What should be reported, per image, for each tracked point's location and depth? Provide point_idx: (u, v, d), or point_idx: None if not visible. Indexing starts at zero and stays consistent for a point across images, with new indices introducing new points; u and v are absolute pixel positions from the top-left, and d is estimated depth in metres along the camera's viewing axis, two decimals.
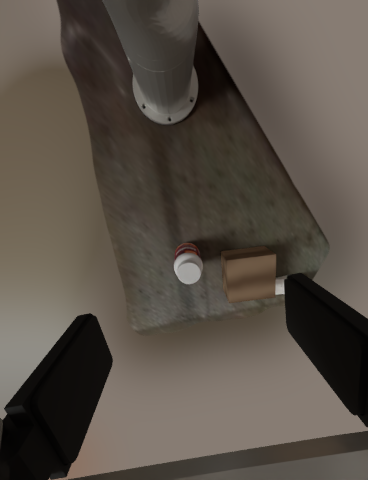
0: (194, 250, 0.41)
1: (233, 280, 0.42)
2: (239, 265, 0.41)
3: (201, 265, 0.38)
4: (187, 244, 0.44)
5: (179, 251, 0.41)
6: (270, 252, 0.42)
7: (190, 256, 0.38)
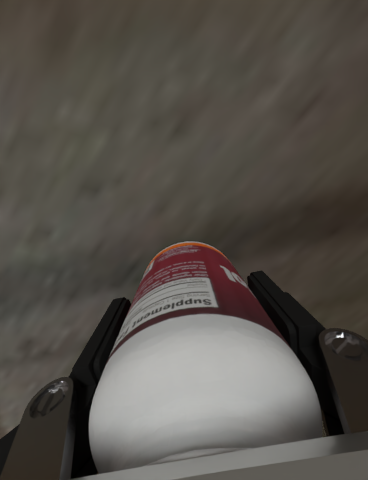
0: None
1: None
2: None
3: None
4: None
5: (252, 294, 0.07)
6: None
7: None
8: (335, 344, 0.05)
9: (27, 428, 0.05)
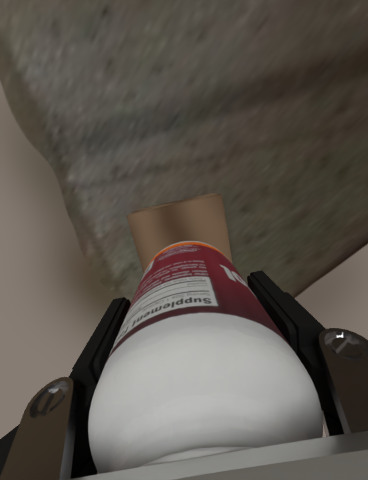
0: None
1: (179, 214, 0.21)
2: (212, 222, 0.21)
3: None
4: None
5: (252, 293, 0.07)
6: None
7: None
8: (335, 344, 0.05)
9: (27, 428, 0.05)
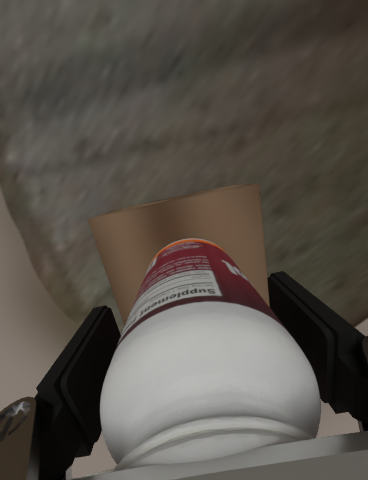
0: None
1: (182, 218, 0.12)
2: (239, 233, 0.12)
3: None
4: None
5: (253, 287, 0.08)
6: None
7: (316, 433, 0.05)
8: None
9: None
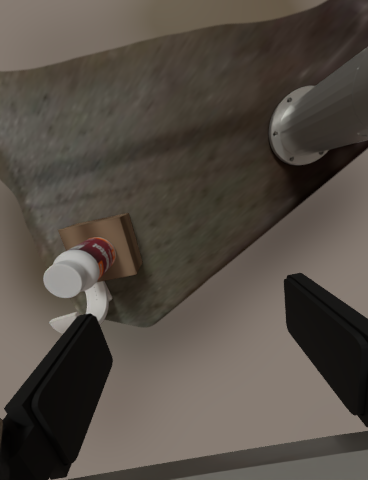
0: (105, 270, 0.29)
1: (93, 230, 0.32)
2: (115, 235, 0.33)
3: (82, 290, 0.26)
4: (113, 254, 0.32)
5: (99, 250, 0.28)
6: (137, 268, 0.36)
7: (93, 274, 0.25)
8: None
9: None
